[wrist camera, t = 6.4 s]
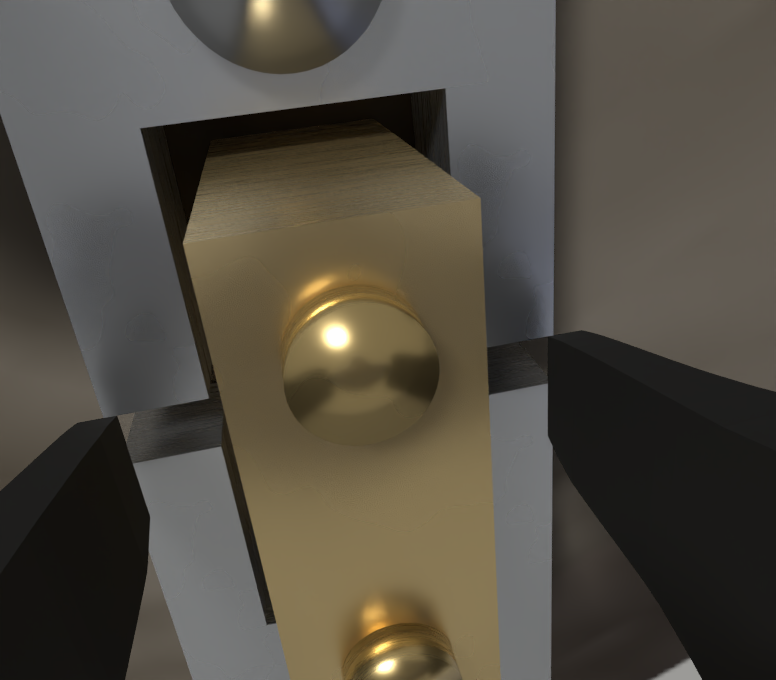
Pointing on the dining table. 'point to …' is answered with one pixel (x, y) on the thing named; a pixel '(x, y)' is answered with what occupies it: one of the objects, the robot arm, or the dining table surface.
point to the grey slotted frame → (173, 280)
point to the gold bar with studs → (355, 395)
